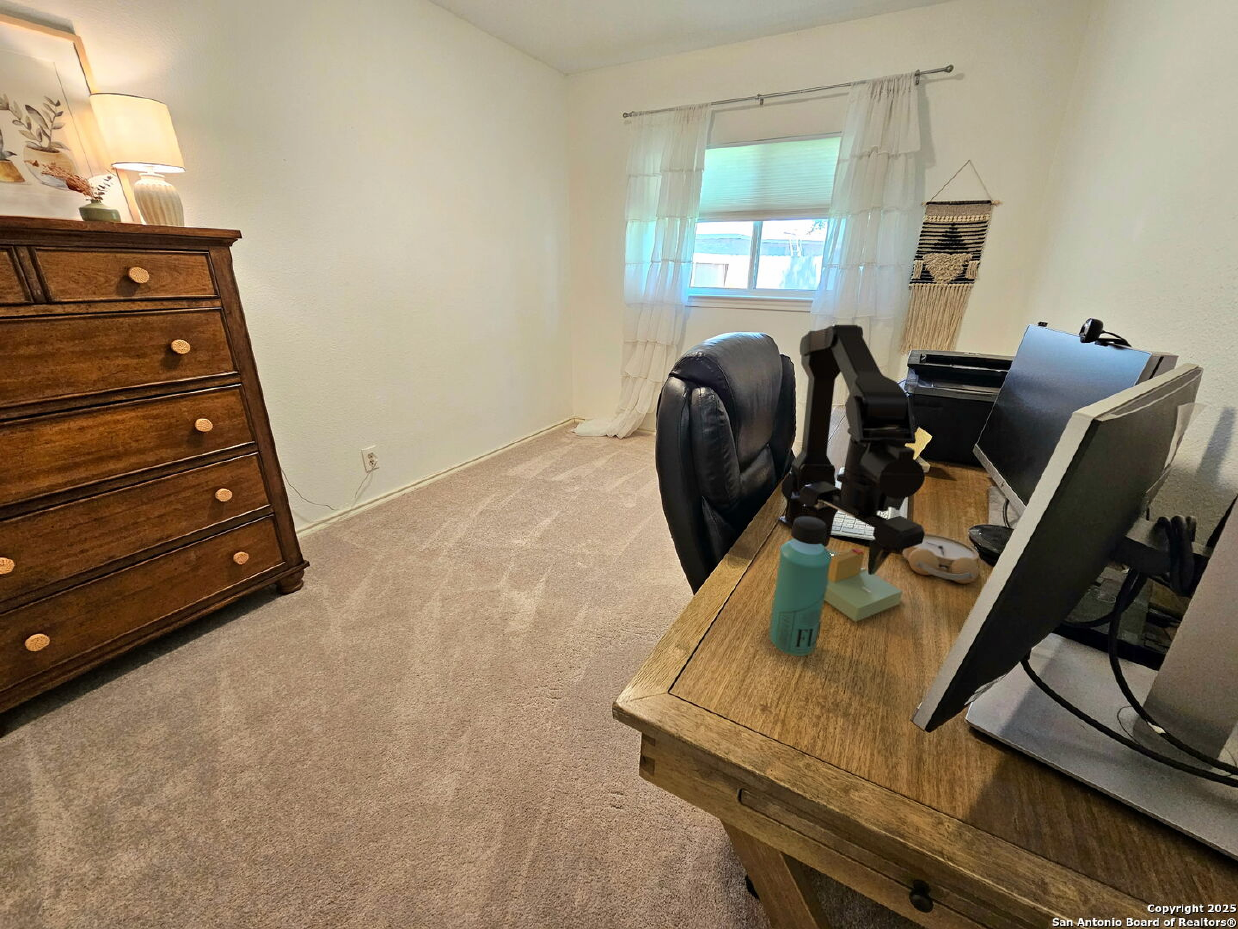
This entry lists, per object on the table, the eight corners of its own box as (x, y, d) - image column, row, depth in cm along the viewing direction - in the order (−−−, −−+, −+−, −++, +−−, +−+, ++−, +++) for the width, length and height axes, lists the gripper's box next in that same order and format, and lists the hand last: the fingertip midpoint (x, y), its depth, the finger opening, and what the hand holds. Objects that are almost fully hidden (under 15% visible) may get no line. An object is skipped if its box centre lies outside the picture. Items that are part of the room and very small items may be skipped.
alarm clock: (972, 540, 90) (991, 568, 77) (966, 565, 91) (984, 596, 78) (904, 527, 94) (911, 551, 81) (898, 551, 96) (905, 578, 82)
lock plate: (787, 574, 85) (789, 561, 84) (829, 560, 89) (831, 548, 88) (854, 622, 73) (858, 607, 72) (899, 604, 77) (903, 590, 76)
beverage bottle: (791, 672, 63) (813, 539, 56) (756, 641, 69) (772, 516, 62) (826, 656, 66) (851, 527, 59) (789, 627, 72) (808, 506, 65)
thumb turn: (834, 582, 78) (838, 560, 76) (826, 577, 79) (830, 555, 78) (860, 573, 80) (865, 551, 79) (852, 568, 82) (856, 547, 80)
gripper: (960, 484, 68) (934, 577, 74) (850, 445, 84) (836, 524, 90) (909, 498, 64) (885, 596, 69) (803, 454, 80) (790, 537, 85)
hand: (846, 559), depth 79 cm, fingers open, 9 cm apart
